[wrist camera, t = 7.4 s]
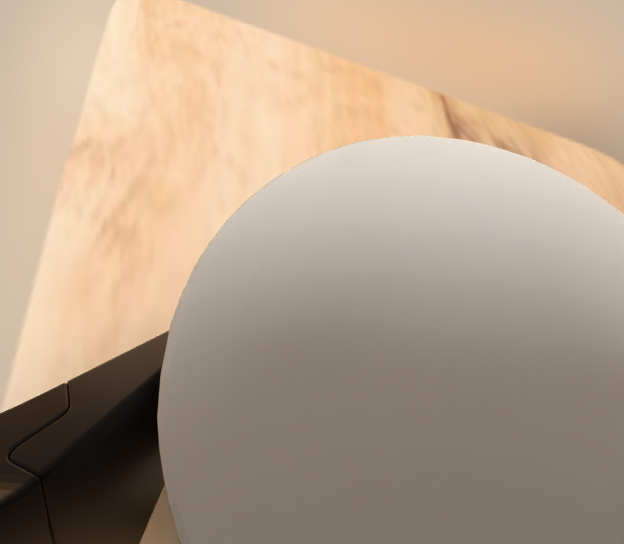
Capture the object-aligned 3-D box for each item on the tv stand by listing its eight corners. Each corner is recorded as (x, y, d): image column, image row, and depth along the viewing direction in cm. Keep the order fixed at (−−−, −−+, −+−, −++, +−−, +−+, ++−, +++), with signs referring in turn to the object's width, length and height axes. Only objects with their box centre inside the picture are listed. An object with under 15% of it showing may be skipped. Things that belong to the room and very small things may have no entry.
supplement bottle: (381, 322, 16) (636, 38, 5) (429, 496, 14) (1232, 843, 2) (223, 351, 15) (32, 86, 4) (244, 543, 13) (-116, 1618, 1)
